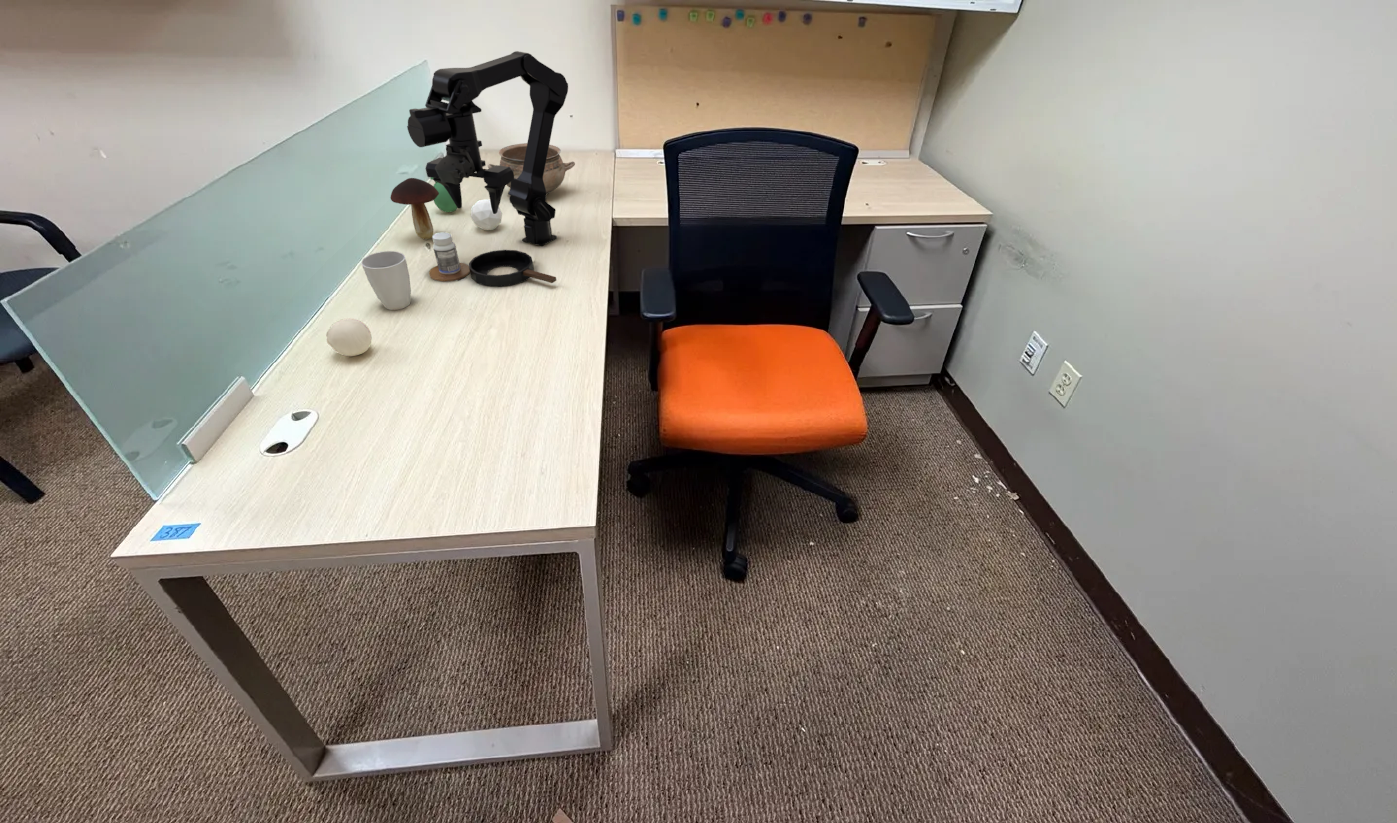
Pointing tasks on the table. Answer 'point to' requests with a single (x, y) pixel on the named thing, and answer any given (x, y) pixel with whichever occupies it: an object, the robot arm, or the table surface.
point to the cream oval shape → (349, 337)
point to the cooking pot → (553, 167)
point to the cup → (389, 278)
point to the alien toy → (444, 199)
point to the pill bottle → (446, 253)
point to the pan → (504, 258)
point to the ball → (485, 215)
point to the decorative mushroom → (417, 203)
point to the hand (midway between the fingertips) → (477, 210)
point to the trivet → (439, 276)
